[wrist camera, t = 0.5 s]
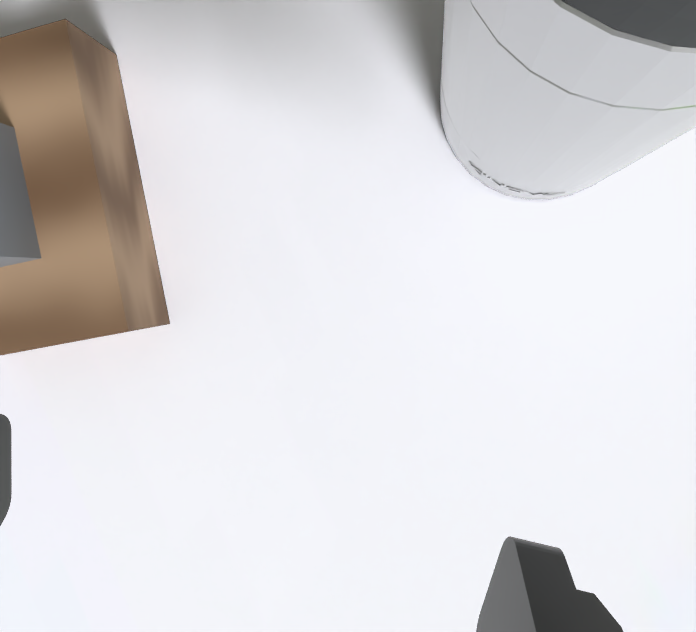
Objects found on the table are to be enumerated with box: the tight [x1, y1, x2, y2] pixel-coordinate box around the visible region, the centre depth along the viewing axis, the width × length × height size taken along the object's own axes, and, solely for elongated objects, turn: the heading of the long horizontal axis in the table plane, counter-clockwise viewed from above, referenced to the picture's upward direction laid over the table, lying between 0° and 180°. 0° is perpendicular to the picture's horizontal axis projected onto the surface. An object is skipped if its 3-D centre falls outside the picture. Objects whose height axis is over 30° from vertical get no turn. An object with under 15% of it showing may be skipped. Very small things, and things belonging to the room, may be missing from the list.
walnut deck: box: [0, 19, 170, 355], centre depth 28 cm, size 14×10×4 cm
